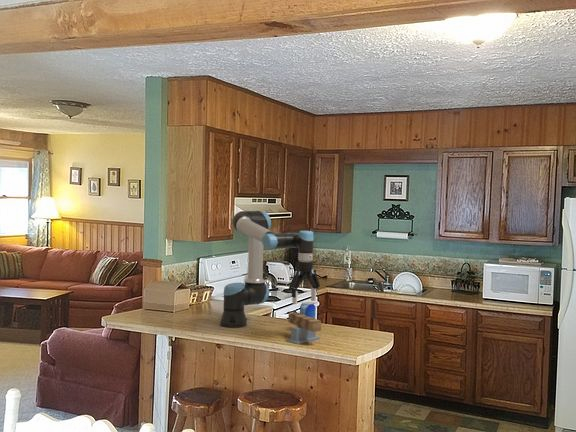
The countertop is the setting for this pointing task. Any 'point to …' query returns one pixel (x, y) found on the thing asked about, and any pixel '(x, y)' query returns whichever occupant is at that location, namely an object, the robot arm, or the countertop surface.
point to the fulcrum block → (302, 335)
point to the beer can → (308, 309)
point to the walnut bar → (304, 322)
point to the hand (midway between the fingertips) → (304, 302)
